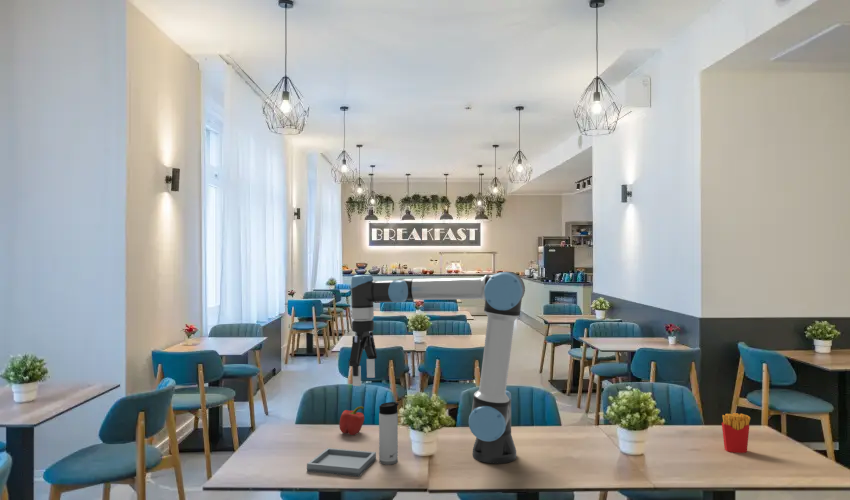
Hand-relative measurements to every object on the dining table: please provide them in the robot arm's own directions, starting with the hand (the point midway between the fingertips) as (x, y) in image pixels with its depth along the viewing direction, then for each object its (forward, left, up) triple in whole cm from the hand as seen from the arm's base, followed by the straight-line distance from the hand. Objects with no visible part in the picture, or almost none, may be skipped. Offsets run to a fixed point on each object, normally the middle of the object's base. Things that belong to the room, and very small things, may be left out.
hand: (364, 381), depth 198 cm
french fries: (-126, -41, -27) cm, 135 cm away
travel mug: (-9, 0, -27) cm, 28 cm away
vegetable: (+15, -27, -27) cm, 41 cm away
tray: (+5, +7, -27) cm, 28 cm away
